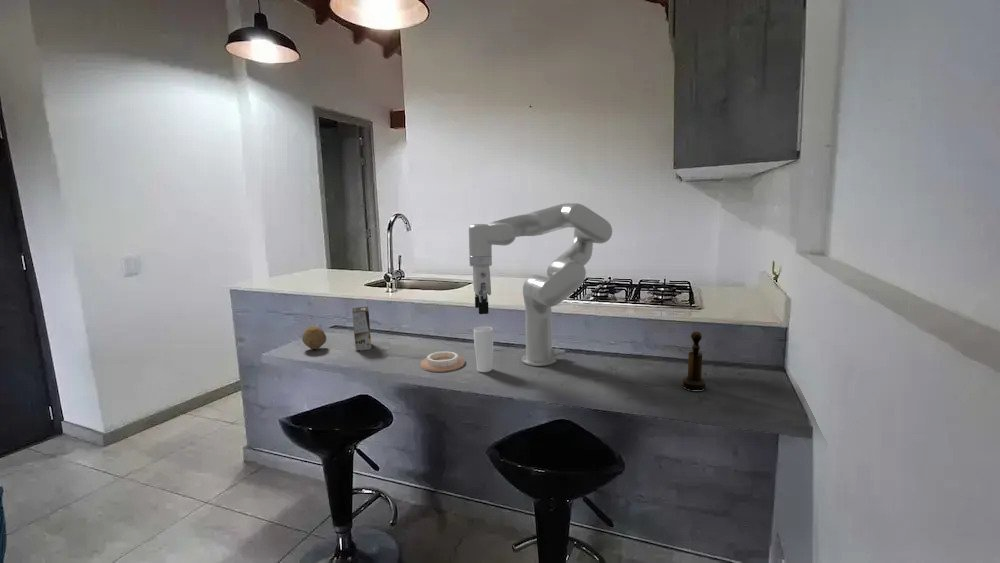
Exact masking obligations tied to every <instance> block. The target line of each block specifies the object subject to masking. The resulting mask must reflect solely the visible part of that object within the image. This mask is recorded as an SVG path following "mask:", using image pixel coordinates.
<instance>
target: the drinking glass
mask: <svg viewBox="0 0 1000 563" xmlns="http://www.w3.org/2000/svg"><path fill="white" fill-rule="evenodd" d="M473 344H474V352H475V360H476V361H475V362H476V370H477V371H478V372H480V373H489V372H491V371H492V370H493V354H494V353H493V350H494V328H492V326H477V327H474V328H473Z"/></svg>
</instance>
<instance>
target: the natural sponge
mask: <svg viewBox="0 0 1000 563" xmlns="http://www.w3.org/2000/svg"><path fill="white" fill-rule="evenodd" d="M302 342H303V344H304V345H305V346H306V347H308V348H309V349H311V350H313V349H317V350H319V349H320V348H321V347H322V346H324V344H326V342H327V336H326V333H325V332H324V330H323V329H322V328H321V327H319V326H317V325H311V326H308V327H307V328H305V330H304V331H303V333H302ZM318 348H319V349H318Z"/></svg>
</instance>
